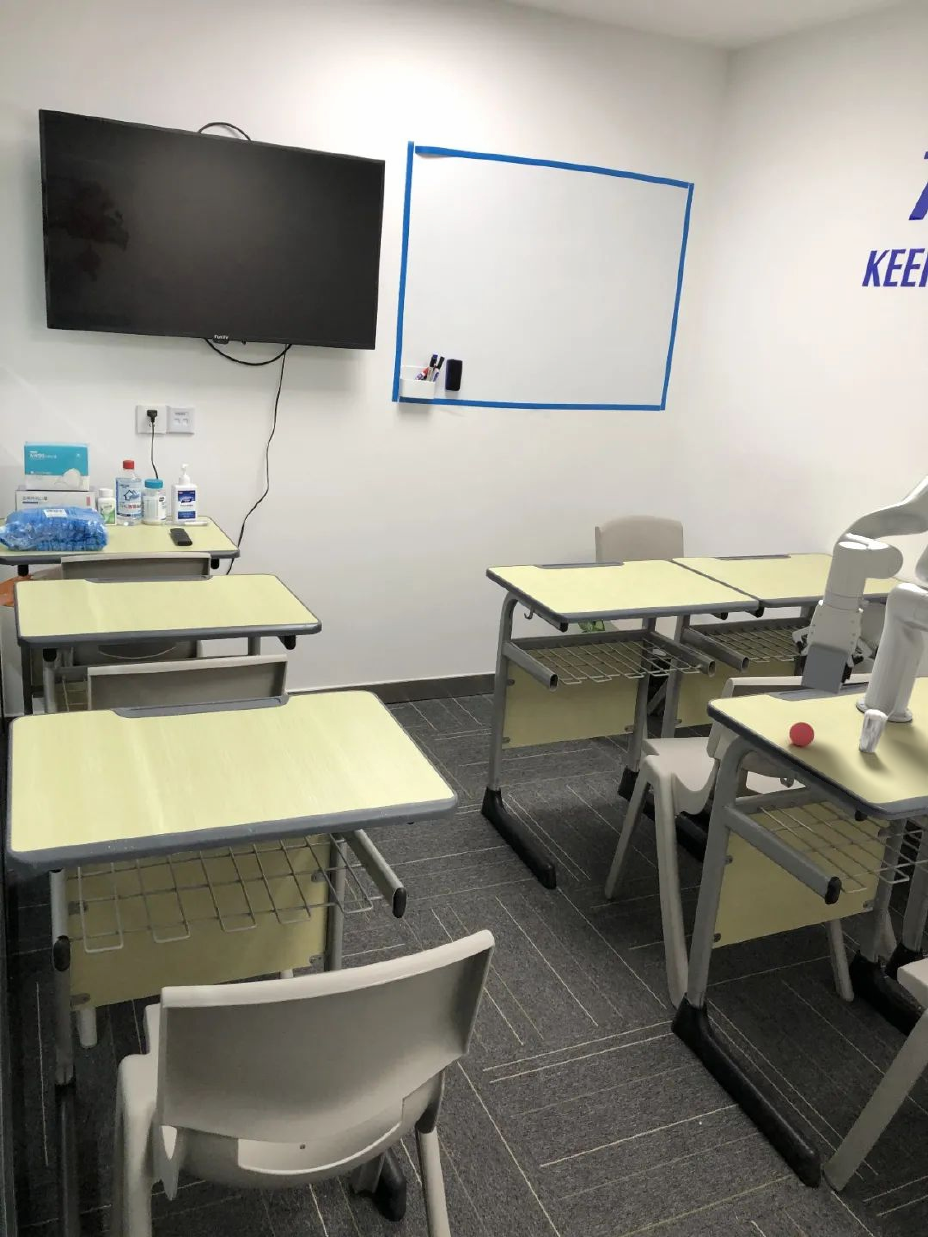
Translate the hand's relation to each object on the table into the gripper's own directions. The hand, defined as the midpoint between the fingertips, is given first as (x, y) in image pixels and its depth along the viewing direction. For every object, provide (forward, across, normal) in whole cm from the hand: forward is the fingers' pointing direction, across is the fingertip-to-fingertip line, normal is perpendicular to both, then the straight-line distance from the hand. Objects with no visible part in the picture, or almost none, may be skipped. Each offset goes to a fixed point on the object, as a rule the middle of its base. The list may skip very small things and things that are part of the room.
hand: (823, 676), depth 204 cm
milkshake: (+13, -12, +3) cm, 18 cm away
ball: (+10, 0, +12) cm, 15 cm away
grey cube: (+2, 0, 0) cm, 2 cm away
